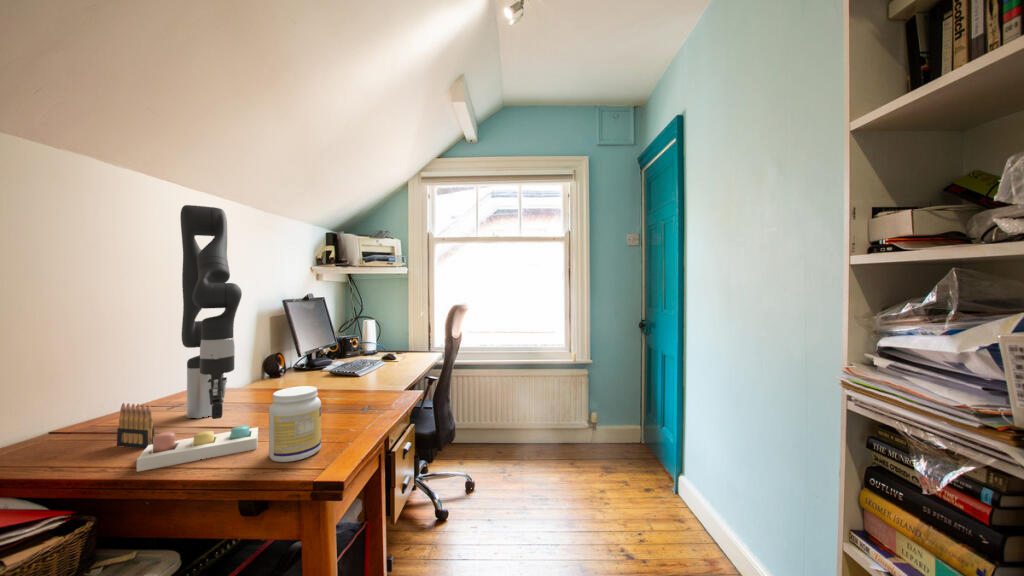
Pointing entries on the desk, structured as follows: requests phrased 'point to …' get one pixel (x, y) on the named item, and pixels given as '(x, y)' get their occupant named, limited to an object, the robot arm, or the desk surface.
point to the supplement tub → (294, 424)
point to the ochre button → (204, 438)
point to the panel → (196, 450)
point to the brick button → (164, 442)
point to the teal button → (240, 432)
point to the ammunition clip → (135, 426)
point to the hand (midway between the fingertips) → (217, 417)
